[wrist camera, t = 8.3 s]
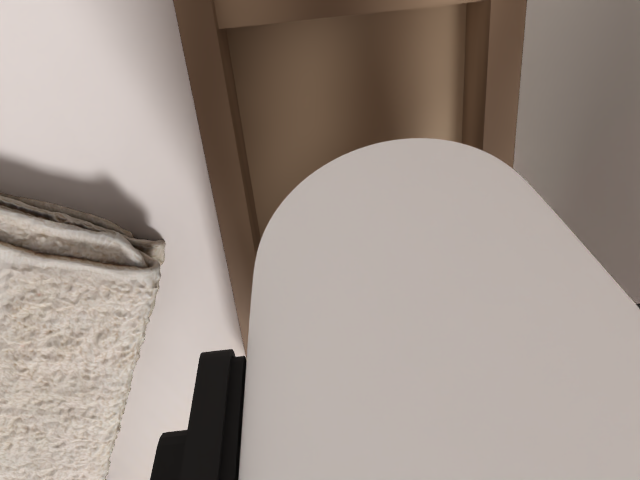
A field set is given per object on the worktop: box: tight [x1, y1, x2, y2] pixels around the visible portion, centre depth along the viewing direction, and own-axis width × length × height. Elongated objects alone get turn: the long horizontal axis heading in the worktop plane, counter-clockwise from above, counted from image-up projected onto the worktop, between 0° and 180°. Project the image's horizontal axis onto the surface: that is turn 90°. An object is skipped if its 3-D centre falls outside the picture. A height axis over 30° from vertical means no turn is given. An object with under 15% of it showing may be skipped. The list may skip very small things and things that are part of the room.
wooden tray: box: [173, 0, 527, 359], centre depth 21 cm, size 10×17×3 cm, turn 5°
